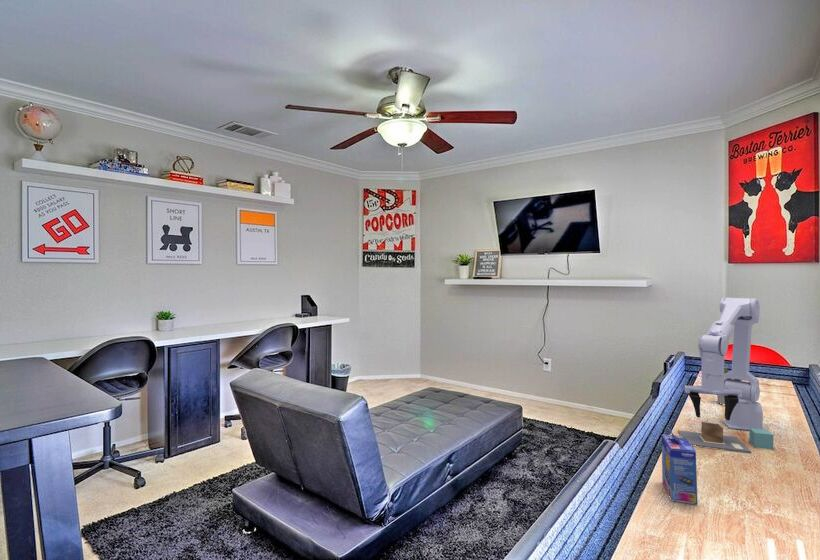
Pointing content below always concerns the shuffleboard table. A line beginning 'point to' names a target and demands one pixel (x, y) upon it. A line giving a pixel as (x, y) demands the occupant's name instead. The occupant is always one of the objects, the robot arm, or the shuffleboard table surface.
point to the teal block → (761, 438)
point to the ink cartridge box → (679, 468)
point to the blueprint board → (728, 442)
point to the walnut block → (712, 432)
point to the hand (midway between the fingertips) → (712, 417)
